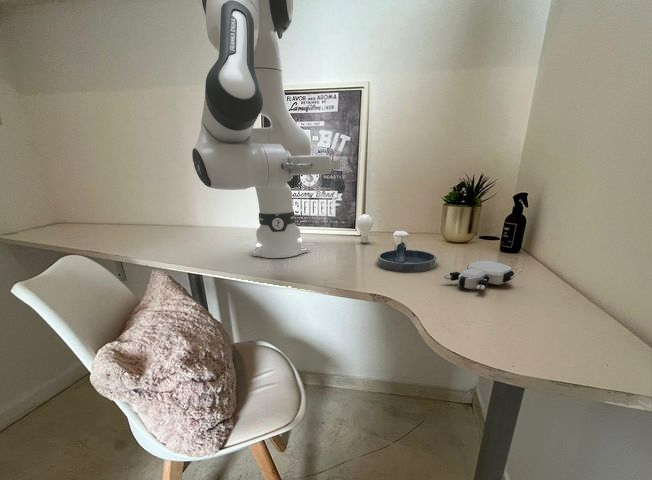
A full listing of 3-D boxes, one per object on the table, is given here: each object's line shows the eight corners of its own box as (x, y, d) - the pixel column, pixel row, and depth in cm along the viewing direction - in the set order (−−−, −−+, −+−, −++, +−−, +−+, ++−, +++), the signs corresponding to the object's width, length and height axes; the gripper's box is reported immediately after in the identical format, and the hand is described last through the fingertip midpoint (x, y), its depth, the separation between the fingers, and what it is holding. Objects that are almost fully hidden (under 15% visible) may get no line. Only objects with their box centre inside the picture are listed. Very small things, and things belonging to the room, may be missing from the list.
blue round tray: (371, 259, 108) (371, 251, 107) (421, 255, 111) (421, 248, 110) (388, 274, 92) (389, 265, 91) (446, 269, 95) (447, 261, 94)
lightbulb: (353, 244, 130) (353, 214, 125) (362, 241, 134) (362, 212, 130) (367, 245, 126) (368, 215, 122) (375, 242, 131) (376, 213, 127)
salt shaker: (407, 263, 101) (409, 229, 97) (390, 261, 103) (391, 228, 99) (410, 259, 105) (412, 227, 101) (394, 258, 107) (395, 226, 103)
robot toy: (481, 301, 74) (521, 284, 81) (484, 282, 72) (524, 266, 79) (439, 287, 84) (478, 272, 91) (440, 270, 82) (479, 256, 89)
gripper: (292, 147, 64) (352, 147, 70) (257, 152, 80) (308, 152, 86) (294, 182, 66) (352, 180, 73) (260, 180, 83) (310, 178, 89)
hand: (328, 165), depth 80 cm, fingers open, 8 cm apart
